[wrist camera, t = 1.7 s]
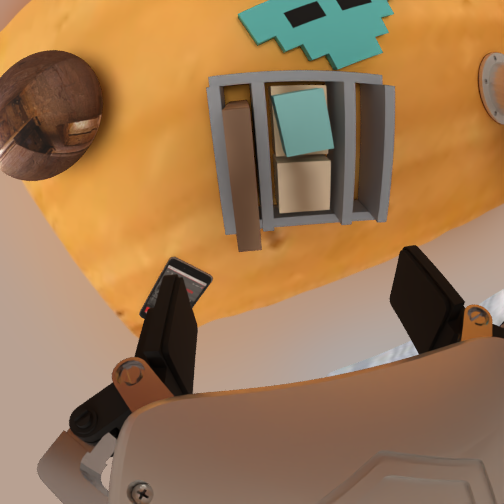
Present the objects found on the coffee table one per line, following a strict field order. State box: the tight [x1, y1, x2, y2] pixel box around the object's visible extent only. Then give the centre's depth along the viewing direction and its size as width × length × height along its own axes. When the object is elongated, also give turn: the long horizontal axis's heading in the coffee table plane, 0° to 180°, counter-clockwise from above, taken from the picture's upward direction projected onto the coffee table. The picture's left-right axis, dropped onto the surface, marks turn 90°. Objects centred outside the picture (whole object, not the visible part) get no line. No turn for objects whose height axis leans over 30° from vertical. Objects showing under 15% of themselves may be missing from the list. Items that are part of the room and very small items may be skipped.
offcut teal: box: [270, 88, 334, 157], centre depth 28 cm, size 5×6×3 cm
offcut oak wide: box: [268, 85, 328, 157], centre depth 31 cm, size 6×8×4 cm
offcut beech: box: [273, 153, 331, 213], centre depth 34 cm, size 6×6×5 cm
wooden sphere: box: [0, 50, 103, 181], centre depth 23 cm, size 15×15×15 cm
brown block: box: [222, 100, 262, 252], centre depth 28 cm, size 2×12×14 cm, turn 5°
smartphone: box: [139, 257, 213, 319], centre depth 46 cm, size 7×1×15 cm
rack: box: [206, 70, 395, 235], centre depth 31 cm, size 19×18×7 cm
